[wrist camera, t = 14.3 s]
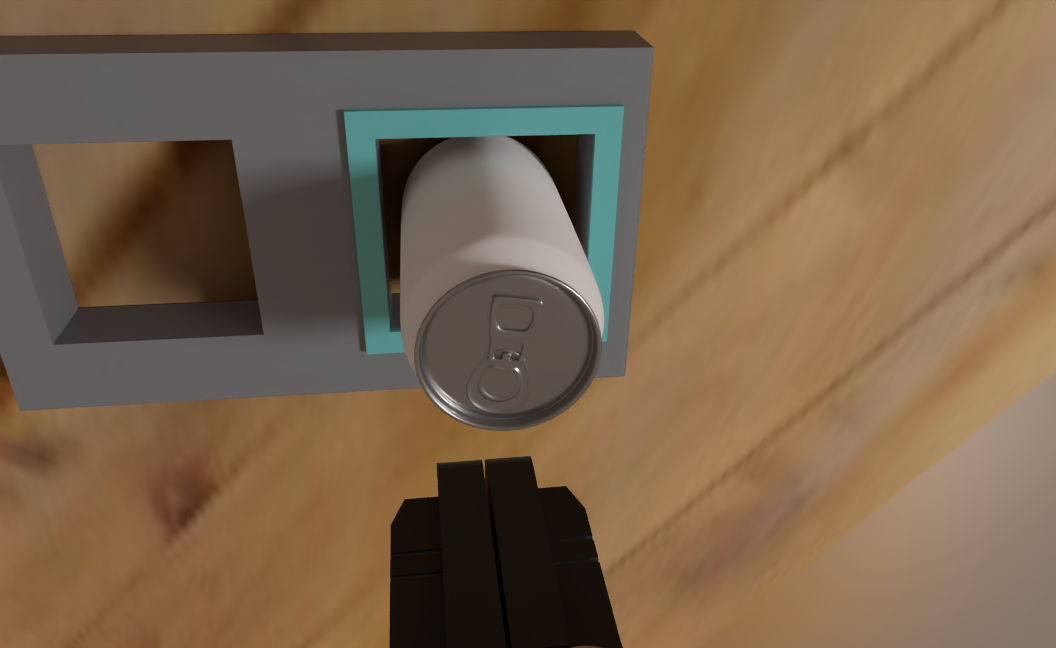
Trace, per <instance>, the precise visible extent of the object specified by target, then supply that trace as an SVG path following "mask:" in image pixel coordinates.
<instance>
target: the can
mask: <svg viewBox="0 0 1056 648" xmlns="http://www.w3.org/2000/svg"><path fill="white" fill-rule="evenodd" d="M400 326H401V337H402V342H403V347H404V351H405V354H406V357H407V359H408V361H409V363H410V365H411V367H412V369H413V370H414V372H415V373H416V375H417V376H418V379H419V382H420V384H421V386H422V388H423V390H424V391H425V393H426V395H427V396H428V397H429V399H430V400H431V401H432V402H433V403H434V404H435V405H436V406H437V407H438V408H439V409H440V410H441V411H443V412H444V413H445V414H447V415H448V416H450V417H451V418H453V419H455V420H457V421H459V422H461V423H464V424H466V425H469V426H472V427H476V428H480V429H485V430H494V431H510V430H519V429H524V428H529V427H532V426H536V425H539V424H541V423H544V422H546V421H549V420H551V419H553V418H554V417H556V416H558V415H560V414H561V413H563V412H564V411H566V410H567V409H568V408H570V407H571V406H572V405H573V404H574V403H575V402H576V401H577V400H578V399H579V398H580V397H581V396H582V395H583V394H584V393H585V391H586V390H587V389H588V387H589V386H590V384H591V382H592V381H593V379H594V377H595V374H596V372H597V369H598V367H599V363H600V359H601V352H602V335H603V329H604V309H603V303H602V298H601V294H600V291H599V288H598V285H597V283H596V280H595V277H594V275H593V272H592V270H591V268H590V265H589V263H588V260H587V258H586V256H585V253H584V251H583V248H582V246H581V244H580V241H579V239H578V237H577V234H576V232H575V230H574V227H573V225H572V223H571V220H570V218H569V216H568V213H567V211H566V209H565V206H564V204H563V202H562V200H561V197H560V195H559V193H558V191H557V188H556V186H555V184H554V182H553V180H552V177H551V176H550V174H549V172H548V170H547V168H546V167H545V165H544V164H543V163H542V161H541V160H540V159H539V158H538V156H537V155H536V154H535V153H533V152H532V151H531V150H530V149H529V148H527V147H526V146H525V145H523V144H521V143H520V142H518V141H516V140H514V139H511V138H509V137H506V136H485V137H452V138H450V139H447V140H445V141H443V142H441V143H440V144H438V145H436V146H435V147H433V148H432V149H431V150H429V151H428V152H427V153H426V154H425V155H424V156H423V157H422V158H421V159H420V160H419V161H418V163H417V164H416V165H415V167H414V168H413V170H412V172H411V173H410V175H409V177H408V180H407V182H406V185H405V188H404V193H403V198H402V210H401V252H400Z"/></svg>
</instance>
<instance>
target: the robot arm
mask: <svg viewBox="0 0 1056 648" xmlns="http://www.w3.org/2000/svg"><path fill="white" fill-rule="evenodd" d="M437 478H438V496H439V497H428V498H416V499H405V500H404V502H403V503H402V505H401V507H400V509H399V511H398V513H397V515H396V516H395V518H394V520H393V522H392V524H391V559H390V578H391V582H390V648H623V647H622V644H621V641H620V637H619V634H618V630H617V626H616V622H615V619H614V615H613V611H612V607H611V604H610V600H609V596H608V592H607V589H606V585H605V581H604V577H603V574H602V570H601V566H600V562H598V555H597V551H596V547H595V543H594V540H593V539H592V532H591V528H590V525H589V521H588V517H587V513H586V510H585V508H584V506H583V505H582V504H581V503H580V502H579V501H578V500H577V498H576V497H575V496H574V495H573V494H572V493H571V491H570V490H569V489H568V488H567V487H566V486H562V487H549V488H538V487H537V482H536V477H535V472H534V467H533V463H532V459H531V457H530V456H525V457H511V458H498V459H486V460H485V478H484V470H483V463H482V460H475V461H461V462H448V463H437Z"/></svg>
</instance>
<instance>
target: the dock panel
mask: <svg viewBox="0 0 1056 648" xmlns="http://www.w3.org/2000/svg"><path fill="white" fill-rule="evenodd" d="M653 51H654V47H653V46H651V45H650V44H649V43H648V42H647V41H646V40H644V39H643V38H642V37H641V36H640V35H638V34H637V33H636V32H635V31H556V32H439V33H322V34H205V35H88V36H0V355H1V358H2V361H3V363H4V366H5V369H6V372H7V375H8V378H9V380H10V383H11V386H12V389H13V392H14V395H15V397H16V400H17V403H18V406H19V409H20V411H24V410H42V409H59V408H77V407H94V406H112V405H129V404H147V403H164V402H182V401H199V400H217V399H234V398H252V397H269V396H287V395H304V394H322V393H339V392H357V391H374V390H392V389H409V388H422V386H421V384H420V382H419V379H418V376H417V375H416V373H415V372H414V370H413V369H412V367H411V365H410V363H409V361H408V359H407V357H406V354H405V351H404V347H403V342H402V337H401V326H400V294H391V284H390V271H389V258H388V244H387V231H386V217H385V204H384V191H383V177H382V164H381V151H380V139H398V138H442V137H485V136H529V135H572V134H578V153H577V174H576V196H575V217H574V230H575V232H576V234H577V237H578V239H579V241H580V244H581V246H582V248H583V251H584V253H585V256H586V258H587V260H588V263H589V265H590V268H591V270H592V272H593V275H594V277H595V280H596V283H597V285H598V288H599V291H600V294H601V298H602V303H603V309H604V329H603V335H602V352H601V359H600V363H599V367H598V369H597V372H596V374H595V377H594V378H602V377H619V376H625V369H626V358H627V347H628V335H629V324H630V312H631V301H632V290H633V278H634V267H635V256H636V244H637V233H638V222H639V210H640V199H641V187H642V176H643V165H644V153H645V142H646V131H647V119H648V108H649V96H650V85H651V74H652V62H653ZM196 140H232V145H233V151H234V157H235V163H236V169H237V175H238V181H239V187H240V193H241V199H242V206H243V212H244V218H245V224H246V230H247V236H248V242H249V248H250V254H251V260H252V266H253V272H254V278H255V284H256V290H257V296H258V300H245V301H222V302H199V303H177V304H154V305H131V306H109V307H86V308H78V304H77V301H76V297H75V294H74V291H73V287H72V284H71V280H70V277H69V273H68V270H67V266H66V263H65V259H64V256H63V252H62V249H61V245H60V242H59V239H58V235H57V232H56V228H55V225H54V221H53V218H52V214H51V211H50V207H49V204H48V200H47V197H46V194H45V190H44V187H43V183H42V180H41V176H40V173H39V169H38V166H37V162H36V159H35V155H34V152H33V148H32V145H31V144H64V143H108V142H152V141H196Z"/></svg>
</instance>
